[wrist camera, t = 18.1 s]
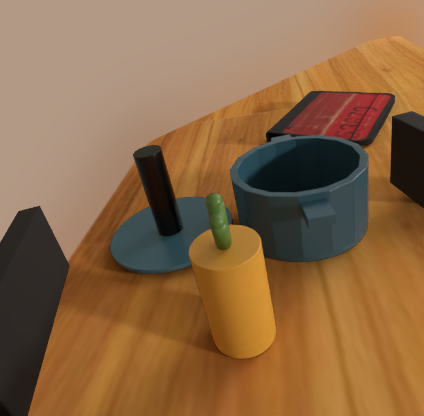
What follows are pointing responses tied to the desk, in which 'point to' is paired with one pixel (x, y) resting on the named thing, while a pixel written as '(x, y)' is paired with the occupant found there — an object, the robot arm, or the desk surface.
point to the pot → (304, 195)
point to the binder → (336, 116)
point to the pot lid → (160, 222)
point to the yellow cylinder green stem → (233, 284)
